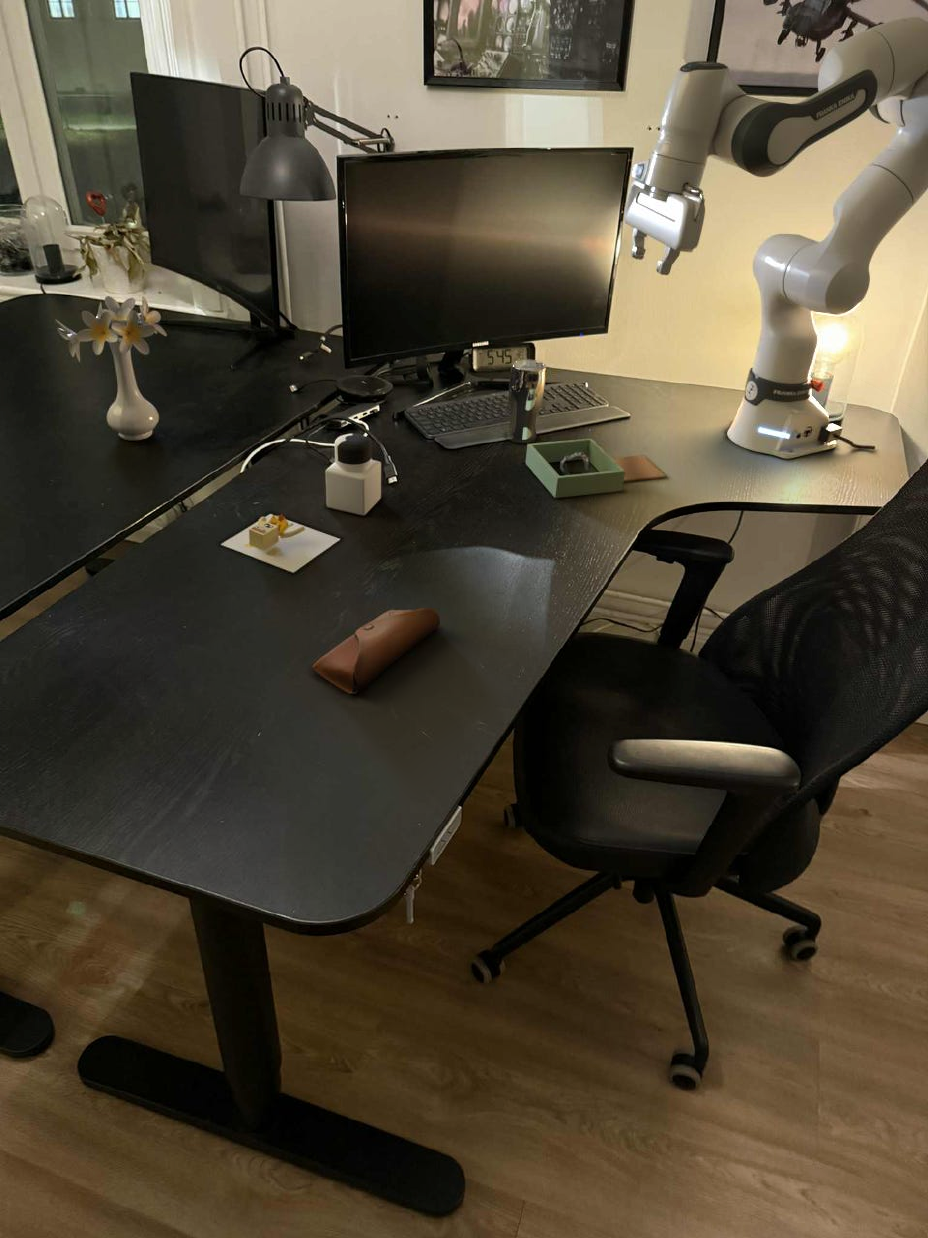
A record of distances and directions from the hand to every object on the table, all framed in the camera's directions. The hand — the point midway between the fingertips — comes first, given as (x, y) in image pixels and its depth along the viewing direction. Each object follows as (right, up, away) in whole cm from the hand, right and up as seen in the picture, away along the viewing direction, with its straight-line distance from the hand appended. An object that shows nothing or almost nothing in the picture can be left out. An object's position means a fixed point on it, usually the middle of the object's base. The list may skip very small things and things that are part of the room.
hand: (649, 265), depth 148 cm
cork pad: (+1, -32, +18) cm, 37 cm away
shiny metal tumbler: (-20, -24, +27) cm, 41 cm away
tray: (-11, -34, +14) cm, 38 cm away
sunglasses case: (-43, -65, -32) cm, 85 cm away
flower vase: (-95, -26, +17) cm, 100 cm away
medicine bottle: (-51, -41, +1) cm, 65 cm away
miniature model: (-61, -49, -11) cm, 79 cm away
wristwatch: (-11, -34, +14) cm, 39 cm away
